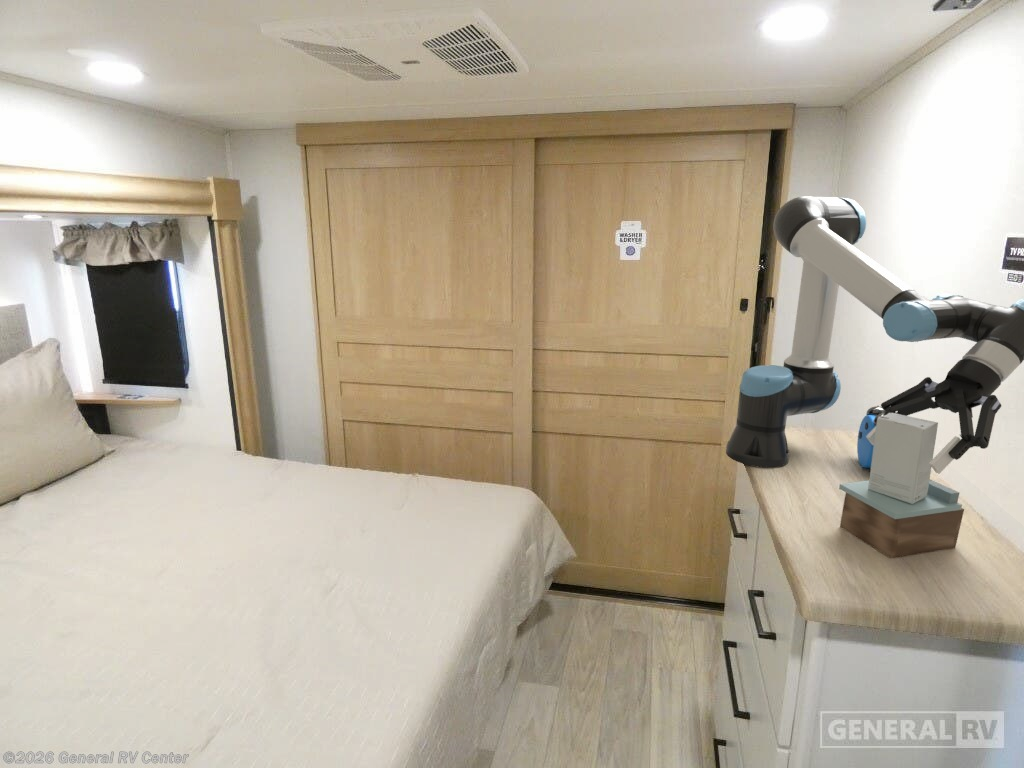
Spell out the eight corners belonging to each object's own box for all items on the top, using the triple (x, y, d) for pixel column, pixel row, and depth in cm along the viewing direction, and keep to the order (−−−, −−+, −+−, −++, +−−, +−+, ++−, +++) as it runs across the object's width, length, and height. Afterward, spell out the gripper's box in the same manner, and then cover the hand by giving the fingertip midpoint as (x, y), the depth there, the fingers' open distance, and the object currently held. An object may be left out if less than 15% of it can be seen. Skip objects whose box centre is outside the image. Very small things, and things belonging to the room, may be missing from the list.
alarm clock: (894, 479, 141) (906, 419, 137) (865, 476, 143) (876, 417, 139) (879, 459, 153) (889, 403, 149) (852, 456, 155) (862, 401, 151)
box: (839, 526, 119) (846, 490, 117) (899, 518, 122) (906, 482, 120) (890, 558, 107) (898, 518, 105) (955, 548, 111) (964, 509, 109)
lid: (839, 488, 116) (841, 474, 116) (900, 481, 120) (902, 467, 119) (895, 519, 105) (898, 503, 104) (960, 509, 108) (964, 494, 108)
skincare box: (926, 498, 111) (942, 422, 107) (911, 506, 107) (927, 428, 103) (879, 482, 117) (893, 410, 113) (863, 489, 114) (877, 415, 110)
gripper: (1063, 403, 99) (974, 494, 99) (928, 368, 122) (856, 442, 122) (1047, 374, 96) (956, 468, 96) (912, 344, 119) (839, 420, 120)
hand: (900, 454), depth 109 cm, fingers open, 13 cm apart
